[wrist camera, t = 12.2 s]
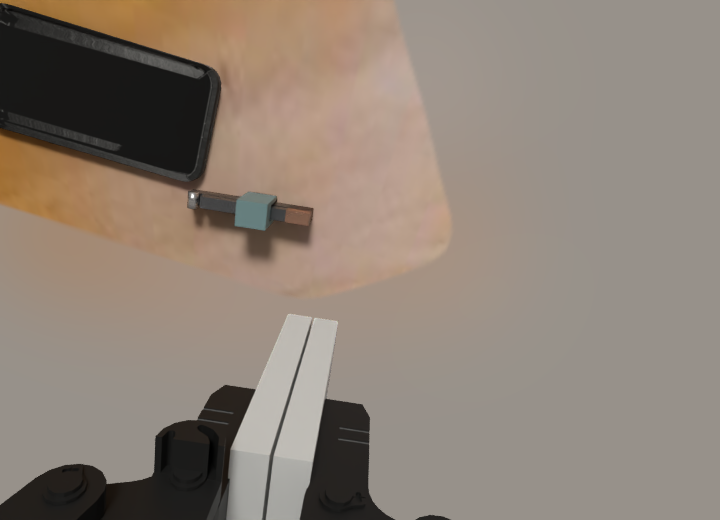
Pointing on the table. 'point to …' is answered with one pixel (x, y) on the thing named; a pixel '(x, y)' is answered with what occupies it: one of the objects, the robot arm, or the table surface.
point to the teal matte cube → (254, 210)
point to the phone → (105, 95)
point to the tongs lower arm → (239, 197)
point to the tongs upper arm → (230, 207)
